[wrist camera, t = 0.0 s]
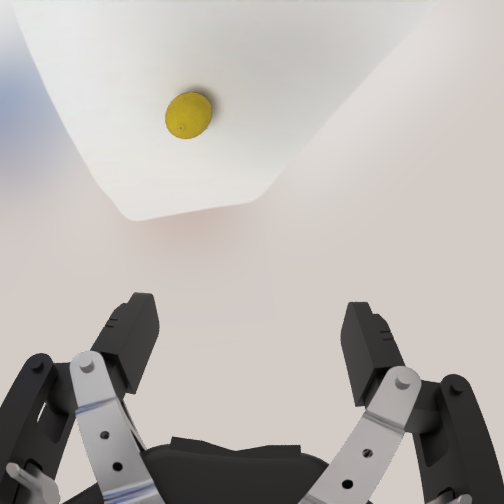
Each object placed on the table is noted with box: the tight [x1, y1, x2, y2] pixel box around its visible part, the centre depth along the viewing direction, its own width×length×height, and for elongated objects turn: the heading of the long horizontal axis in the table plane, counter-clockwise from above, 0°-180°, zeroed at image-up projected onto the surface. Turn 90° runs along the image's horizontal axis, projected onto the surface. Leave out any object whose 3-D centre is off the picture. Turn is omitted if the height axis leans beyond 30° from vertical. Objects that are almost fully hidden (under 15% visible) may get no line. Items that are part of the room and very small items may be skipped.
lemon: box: [165, 92, 212, 139], centre depth 32 cm, size 6×6×8 cm
